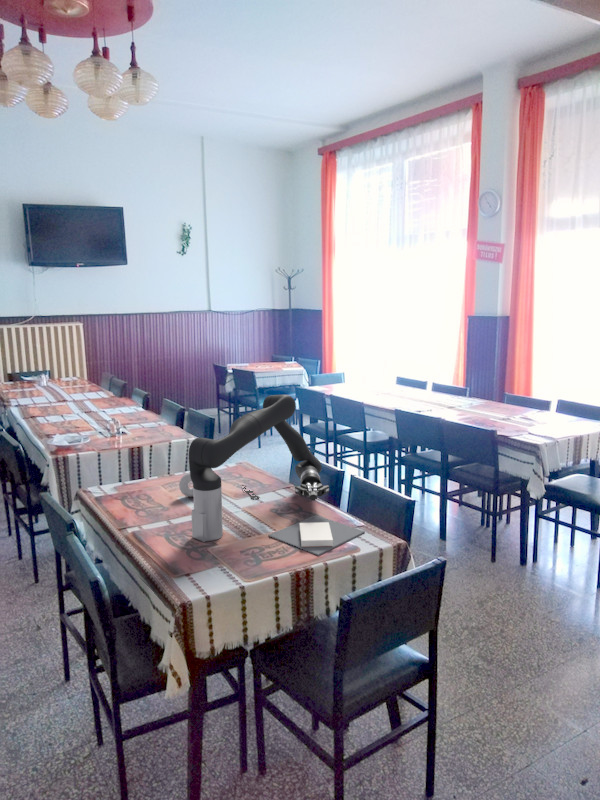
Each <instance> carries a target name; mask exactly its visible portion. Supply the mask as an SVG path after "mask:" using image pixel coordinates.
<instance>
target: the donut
mask: <svg viewBox="0 0 600 800" xmlns="http://www.w3.org/2000/svg"><path fill="white" fill-rule="evenodd" d="M190 482H192V480H191V477H190V471H189V472H187V473H185V474H183V476H182V477H181V478H180V481H179V484H178V486H179V490H180V493H181V494H182V495H184V496H186V497H188V498H191V497H193V487H189V483H190Z"/></svg>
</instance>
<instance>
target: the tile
mask: <svg viewBox="0 0 600 800" xmlns="http://www.w3.org/2000/svg"><path fill="white" fill-rule="evenodd" d="M299 529H300V538H301V547H325V546H333V538H332V534H331V530H330V525H329V522H319V523H299Z"/></svg>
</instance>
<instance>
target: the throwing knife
mask: <svg viewBox="0 0 600 800" xmlns="http://www.w3.org/2000/svg"><path fill="white" fill-rule="evenodd" d="M242 486H245V487H247V486H246V485H244V484H242ZM243 489H244V488H243ZM244 491H245V490H244ZM245 492H247V493H248V496H250V500H252V499H253V500H254V499H257V500H260V499H261V497H260V496H258V495H256V494H255V493H254V490H253V491H250V490H249V491H245ZM247 493H246V494H247ZM249 493H253V494H252V495H255V496H251V495H250V494H249ZM255 497H257V498H255ZM259 498H260V499H259ZM254 501H255V500H254Z"/></svg>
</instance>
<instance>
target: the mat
mask: <svg viewBox="0 0 600 800" xmlns="http://www.w3.org/2000/svg"><path fill="white" fill-rule="evenodd" d="M319 522H329V525H330V530H331V534H332V538H333V546H325V547H301V538H300V529H299V523H319ZM365 533H366V531H365V530H362V529H359V528H356V527H354V526H350V525H347V524H345V523H341V522H338V521H334V520H332V519H329V518H327V517H323V516H319V515H317V514H315V515H313V516H310V517H308V518H305V519H302V520H301V521H299V522H296V523H294V524H291V525H289V526H287V527H283V528H282V529H279V530H277V531H275V532H272V533H269V534H268V535H267V537H269V536H271V537H273V538H272V539H274V538H276V539H278V540H277V541H279V540H280V541H279V542H281V541H283V542H282V543H284V542H286V543H285V544H287V543H288V544H287V545H289V544H290V545H289V546H292V545H293V546H292V547H294V546H296V547H295V548H297V547H298V548H297V549H299V548H300V550H302V549H303V550H302V551H304V552H307V551H308V553H310V554H311V555H316V556H317V557H318V556H319V557H320V556H321V555H323V554H326V553H327V552H329V551H331V550H334V549H335V548H337V547H339V546H341V545H343V544H345V543H348V542H349V541H351V540H353V539H355V538H357V537H359V536H361V535H364V534H365ZM271 537H270V538H271ZM276 539H275V540H276Z"/></svg>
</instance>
